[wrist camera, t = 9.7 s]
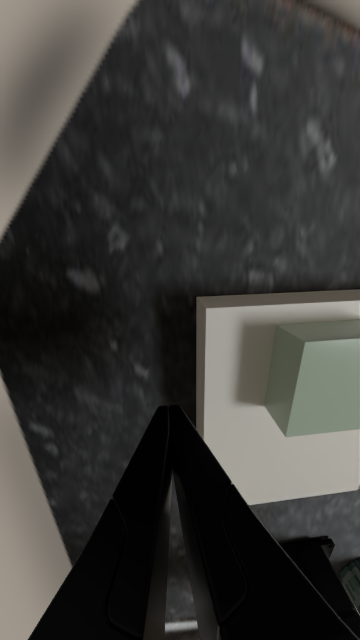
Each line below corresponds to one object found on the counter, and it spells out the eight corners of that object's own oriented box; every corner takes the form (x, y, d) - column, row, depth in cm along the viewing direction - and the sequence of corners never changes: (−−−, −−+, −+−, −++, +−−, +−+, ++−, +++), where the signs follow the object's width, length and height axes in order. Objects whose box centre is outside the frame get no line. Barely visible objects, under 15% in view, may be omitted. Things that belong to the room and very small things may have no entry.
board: (330, 457, 17) (357, 489, 15) (196, 473, 16) (202, 511, 14) (384, 288, 12) (438, 296, 10) (196, 296, 11) (206, 308, 9)
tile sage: (344, 398, 11) (381, 426, 10) (264, 406, 11) (285, 437, 9) (369, 318, 10) (419, 334, 8) (276, 324, 9) (305, 342, 8)
